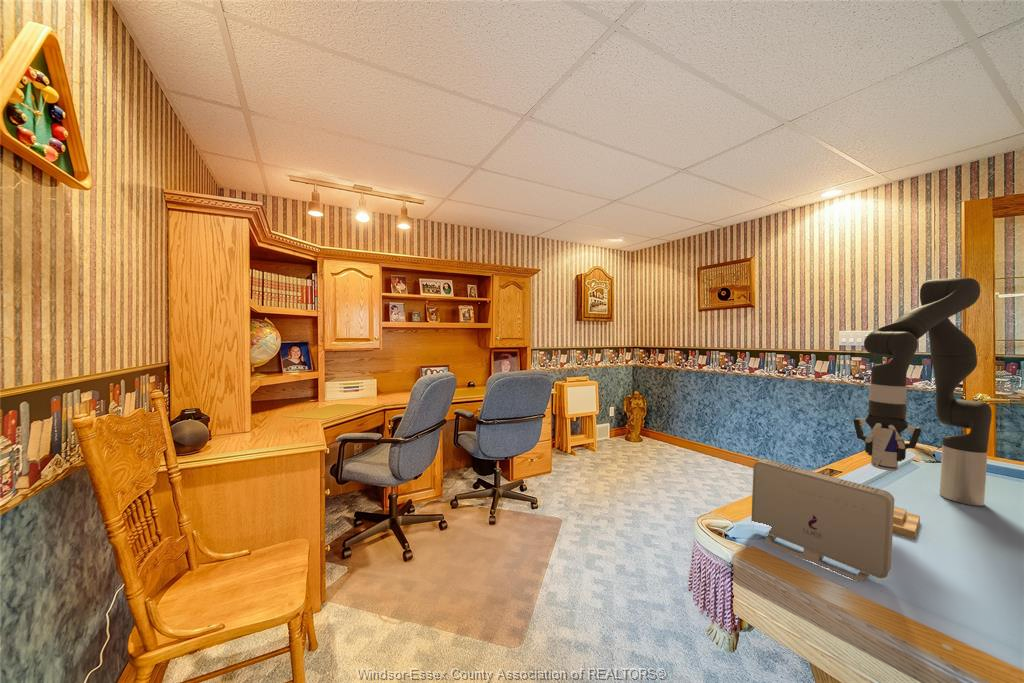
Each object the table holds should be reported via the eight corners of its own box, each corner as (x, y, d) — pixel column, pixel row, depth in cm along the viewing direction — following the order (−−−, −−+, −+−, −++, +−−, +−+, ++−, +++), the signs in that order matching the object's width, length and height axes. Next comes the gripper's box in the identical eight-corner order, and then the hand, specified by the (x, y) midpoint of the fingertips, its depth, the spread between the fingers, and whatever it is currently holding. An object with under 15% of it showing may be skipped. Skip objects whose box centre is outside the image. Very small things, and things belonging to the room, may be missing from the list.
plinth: (853, 503, 114) (853, 492, 114) (919, 522, 103) (920, 510, 103) (843, 516, 106) (844, 505, 105) (914, 539, 94) (915, 526, 94)
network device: (747, 535, 95) (750, 461, 94) (760, 525, 100) (763, 455, 99) (884, 594, 74) (889, 500, 73) (892, 578, 79) (896, 489, 79)
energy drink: (903, 472, 101) (905, 430, 100) (880, 470, 102) (882, 428, 101) (887, 465, 106) (889, 425, 105) (866, 463, 107) (868, 424, 106)
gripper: (926, 403, 100) (923, 462, 100) (855, 395, 111) (853, 448, 112) (923, 406, 95) (920, 468, 96) (850, 397, 107) (848, 453, 107)
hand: (884, 457), depth 104 cm, fingers closed on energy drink, 5 cm apart
